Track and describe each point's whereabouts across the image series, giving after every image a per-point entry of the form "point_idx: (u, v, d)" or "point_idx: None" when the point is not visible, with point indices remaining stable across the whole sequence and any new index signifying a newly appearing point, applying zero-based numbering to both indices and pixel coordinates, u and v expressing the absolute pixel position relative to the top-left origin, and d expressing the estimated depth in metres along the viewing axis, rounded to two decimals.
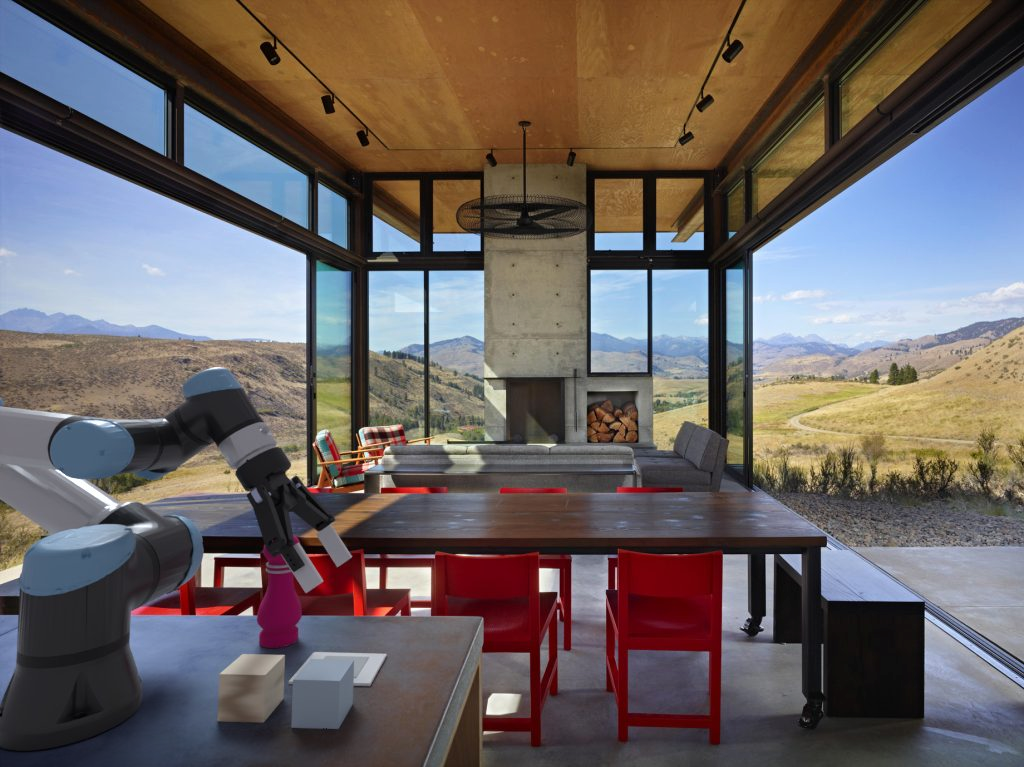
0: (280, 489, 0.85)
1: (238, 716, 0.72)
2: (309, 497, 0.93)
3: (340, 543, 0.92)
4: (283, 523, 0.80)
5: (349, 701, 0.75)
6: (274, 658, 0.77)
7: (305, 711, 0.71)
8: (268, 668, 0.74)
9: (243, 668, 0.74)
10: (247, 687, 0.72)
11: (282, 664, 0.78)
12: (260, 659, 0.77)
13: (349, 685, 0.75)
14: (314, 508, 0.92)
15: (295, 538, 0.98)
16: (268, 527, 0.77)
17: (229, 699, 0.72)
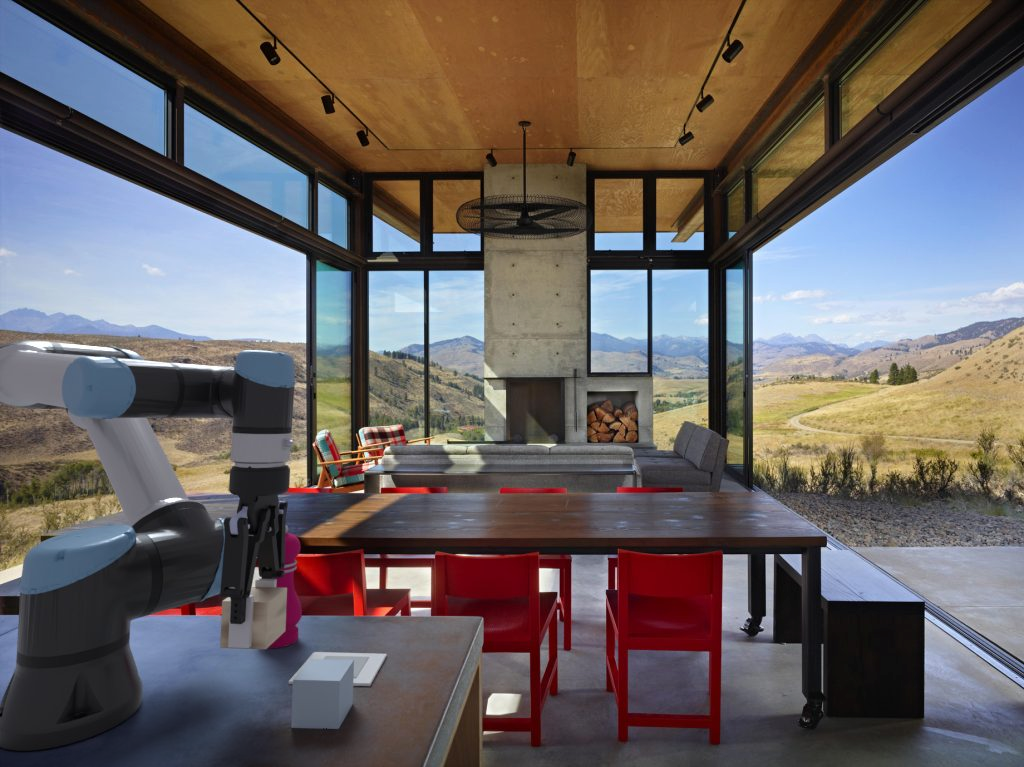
0: (261, 516, 0.74)
1: None
2: (280, 531, 0.81)
3: None
4: (248, 566, 0.72)
5: (349, 701, 0.75)
6: (276, 590, 0.78)
7: (305, 711, 0.71)
8: (271, 597, 0.75)
9: None
10: None
11: (285, 596, 0.78)
12: (263, 590, 0.77)
13: (349, 685, 0.75)
14: (275, 549, 0.79)
15: (295, 538, 0.98)
16: (231, 571, 0.70)
17: None
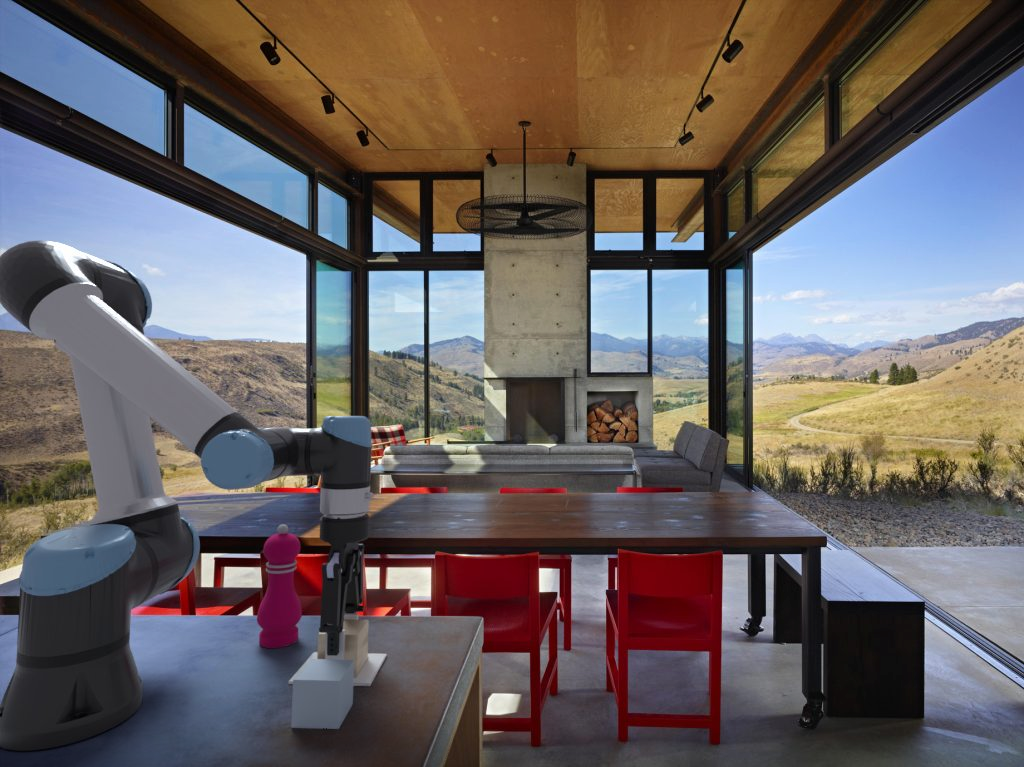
0: (348, 560, 0.86)
1: None
2: (359, 571, 0.93)
3: None
4: (340, 605, 0.83)
5: (349, 701, 0.75)
6: (360, 622, 0.89)
7: (305, 711, 0.71)
8: (358, 629, 0.86)
9: None
10: None
11: (367, 628, 0.89)
12: (349, 623, 0.88)
13: (349, 685, 0.75)
14: (357, 587, 0.90)
15: (295, 538, 0.98)
16: (329, 610, 0.81)
17: None
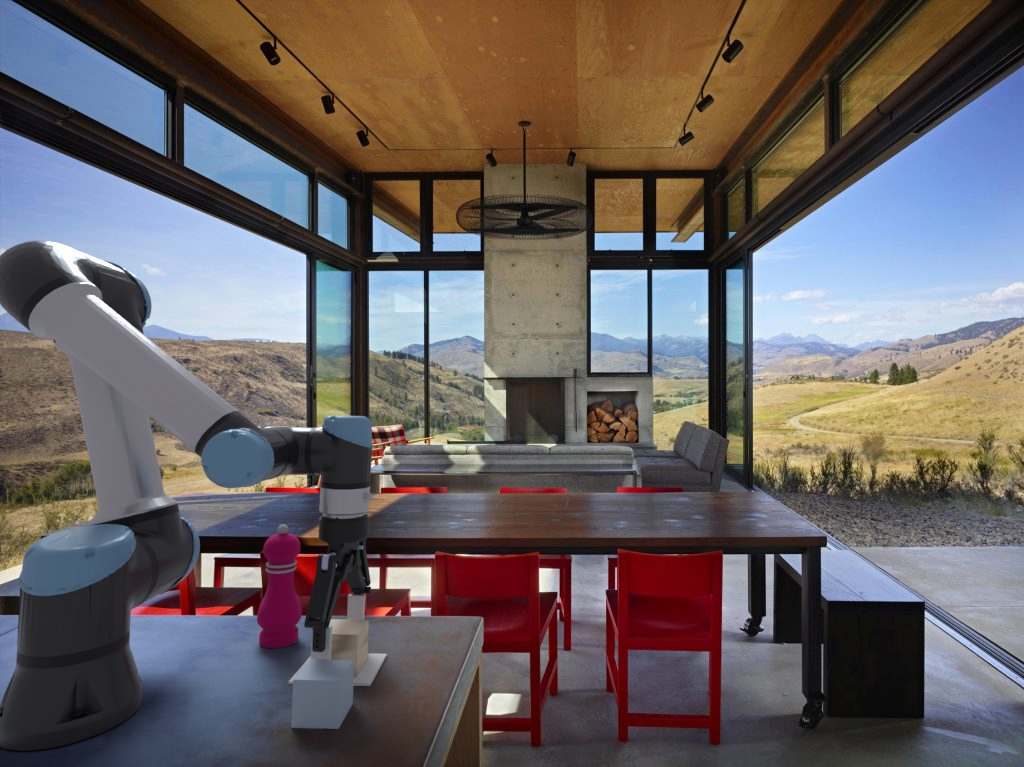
0: (346, 558, 0.86)
1: None
2: (362, 561, 0.94)
3: (362, 617, 0.93)
4: (330, 599, 0.81)
5: (349, 701, 0.75)
6: (360, 622, 0.89)
7: (305, 711, 0.71)
8: (358, 629, 0.86)
9: (336, 630, 0.86)
10: (342, 645, 0.84)
11: (367, 628, 0.89)
12: (349, 623, 0.88)
13: (349, 685, 0.75)
14: (361, 576, 0.93)
15: (295, 538, 0.98)
16: (317, 602, 0.79)
17: None
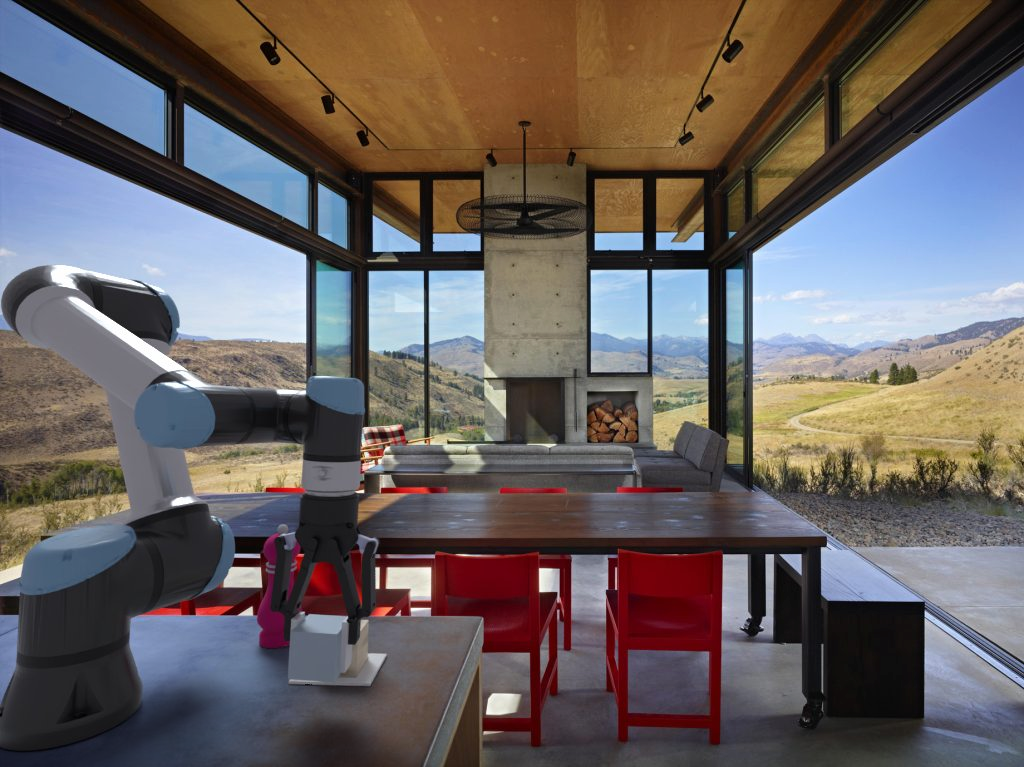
0: None
1: None
2: (362, 572, 0.74)
3: None
4: None
5: None
6: None
7: (302, 663, 0.71)
8: None
9: None
10: None
11: (367, 628, 0.89)
12: None
13: None
14: (345, 588, 0.73)
15: None
16: None
17: None
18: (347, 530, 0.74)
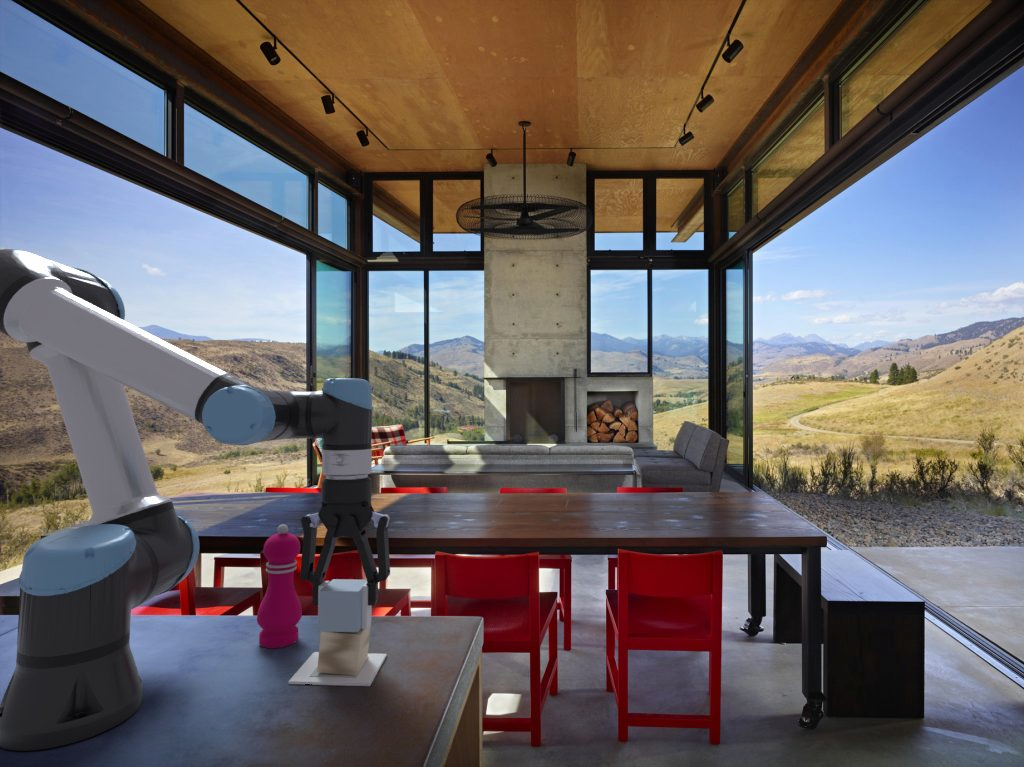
0: None
1: (335, 668, 0.84)
2: (377, 543, 0.87)
3: (362, 609, 0.86)
4: None
5: None
6: None
7: (330, 617, 0.84)
8: (361, 629, 0.86)
9: None
10: (344, 644, 0.84)
11: (369, 628, 0.89)
12: None
13: None
14: (363, 557, 0.86)
15: (295, 538, 0.98)
16: None
17: (328, 653, 0.84)
18: (363, 508, 0.87)
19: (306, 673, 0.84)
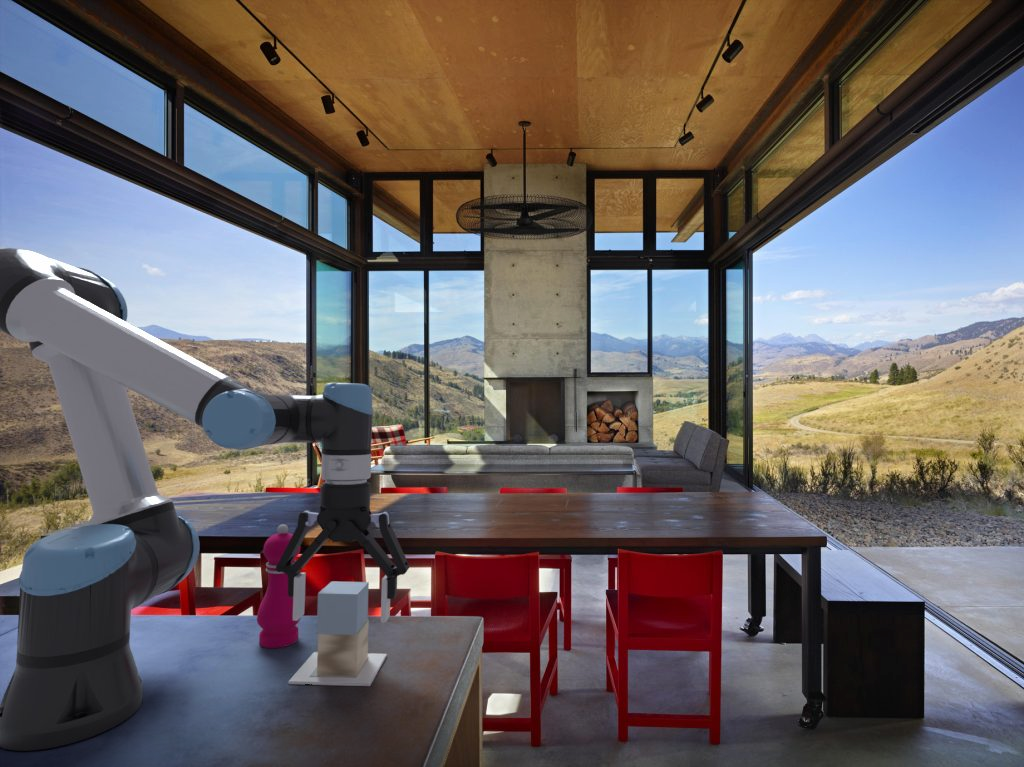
0: (329, 523, 0.87)
1: (335, 670, 0.84)
2: (385, 541, 0.87)
3: (381, 602, 0.86)
4: None
5: (365, 615, 0.88)
6: None
7: (328, 620, 0.84)
8: None
9: None
10: (342, 645, 0.84)
11: (367, 628, 0.89)
12: None
13: (364, 602, 0.88)
14: (375, 555, 0.86)
15: None
16: None
17: (326, 655, 0.84)
18: (359, 514, 0.87)
19: (306, 673, 0.84)
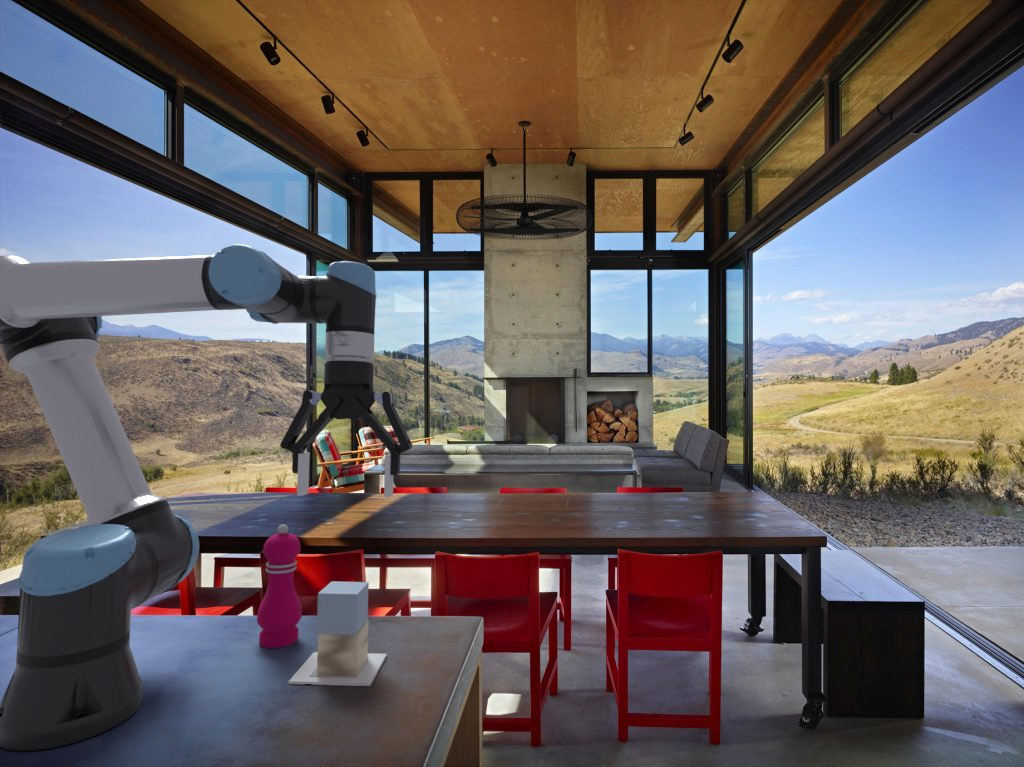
0: None
1: (335, 670, 0.84)
2: None
3: None
4: None
5: (365, 615, 0.88)
6: None
7: (328, 620, 0.84)
8: None
9: None
10: (342, 645, 0.84)
11: (367, 628, 0.89)
12: None
13: (364, 602, 0.88)
14: (378, 432, 0.87)
15: (295, 538, 0.98)
16: None
17: (326, 655, 0.84)
18: (362, 392, 0.88)
19: (306, 673, 0.84)
